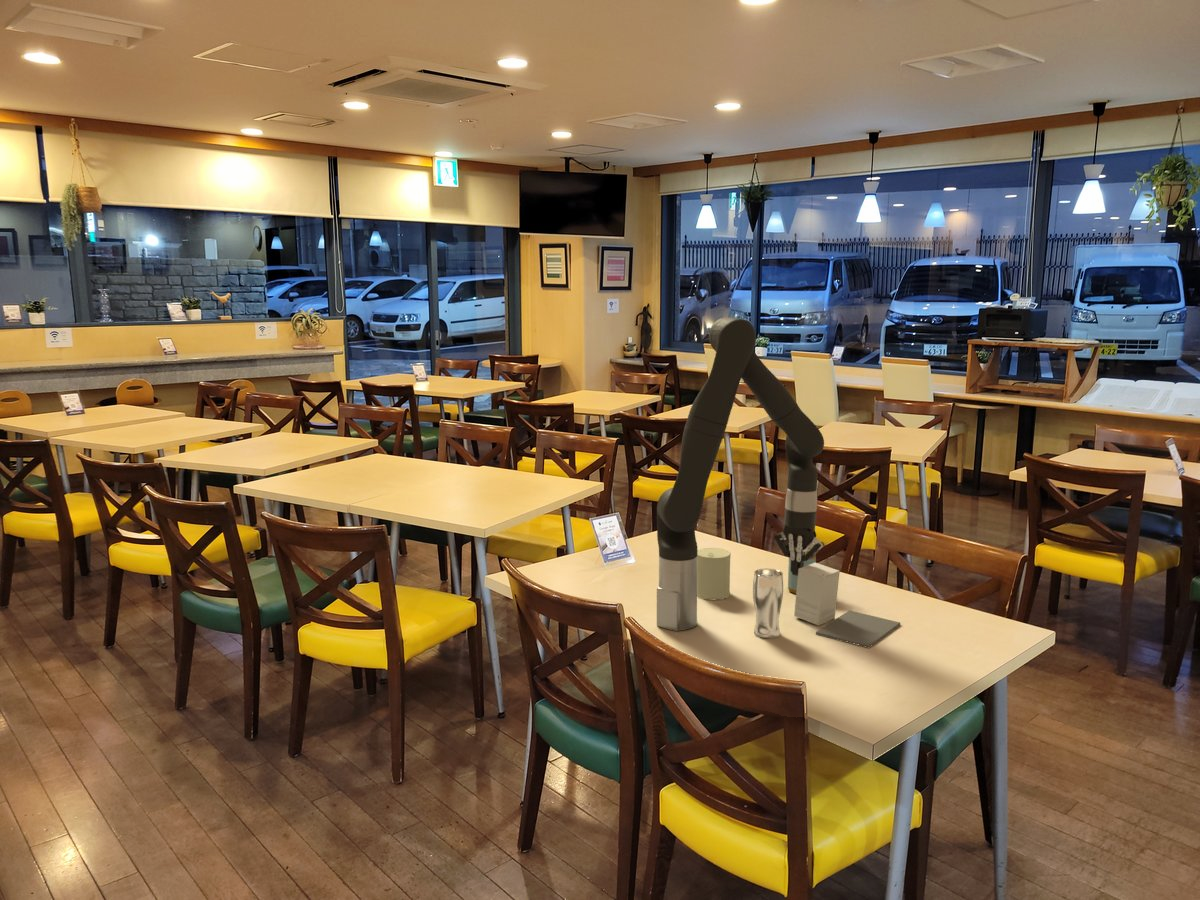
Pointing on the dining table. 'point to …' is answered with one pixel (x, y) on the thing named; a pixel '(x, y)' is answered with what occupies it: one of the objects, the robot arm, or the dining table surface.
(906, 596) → the dining table surface
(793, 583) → the bottle
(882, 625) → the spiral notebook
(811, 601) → the supplement box
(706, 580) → the can
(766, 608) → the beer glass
